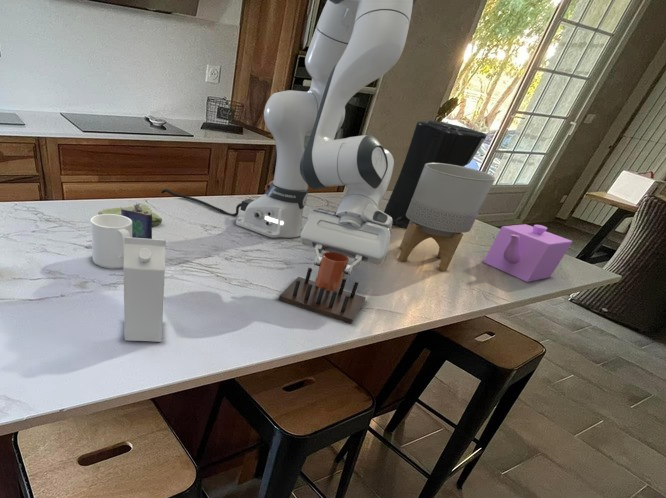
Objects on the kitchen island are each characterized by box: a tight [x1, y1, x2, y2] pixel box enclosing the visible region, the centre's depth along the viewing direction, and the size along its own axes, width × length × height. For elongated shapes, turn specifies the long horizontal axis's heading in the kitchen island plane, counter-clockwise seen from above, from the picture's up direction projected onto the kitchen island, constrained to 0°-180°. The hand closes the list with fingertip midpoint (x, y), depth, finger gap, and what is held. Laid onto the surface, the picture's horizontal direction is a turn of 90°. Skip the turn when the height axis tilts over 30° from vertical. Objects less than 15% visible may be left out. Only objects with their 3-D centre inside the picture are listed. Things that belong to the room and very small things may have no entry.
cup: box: [314, 251, 350, 291], centre depth 102 cm, size 6×6×7 cm
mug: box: [89, 214, 132, 270], centre depth 108 cm, size 13×10×10 cm
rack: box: [278, 267, 366, 325], centre depth 105 cm, size 18×14×5 cm
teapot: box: [483, 223, 574, 283], centre depth 135 cm, size 15×25×14 cm, turn 117°
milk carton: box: [122, 237, 167, 343], centre depth 81 cm, size 7×7×19 cm
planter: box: [397, 163, 496, 272], centre depth 130 cm, size 19×19×26 cm
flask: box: [121, 203, 153, 239], centre depth 120 cm, size 9×3×11 cm, turn 71°
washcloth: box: [97, 204, 163, 227], centre depth 135 cm, size 13×18×3 cm
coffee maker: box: [383, 119, 487, 229], centre depth 158 cm, size 23×32×34 cm
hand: (331, 269), depth 101 cm, fingers closed on cup, 6 cm apart
